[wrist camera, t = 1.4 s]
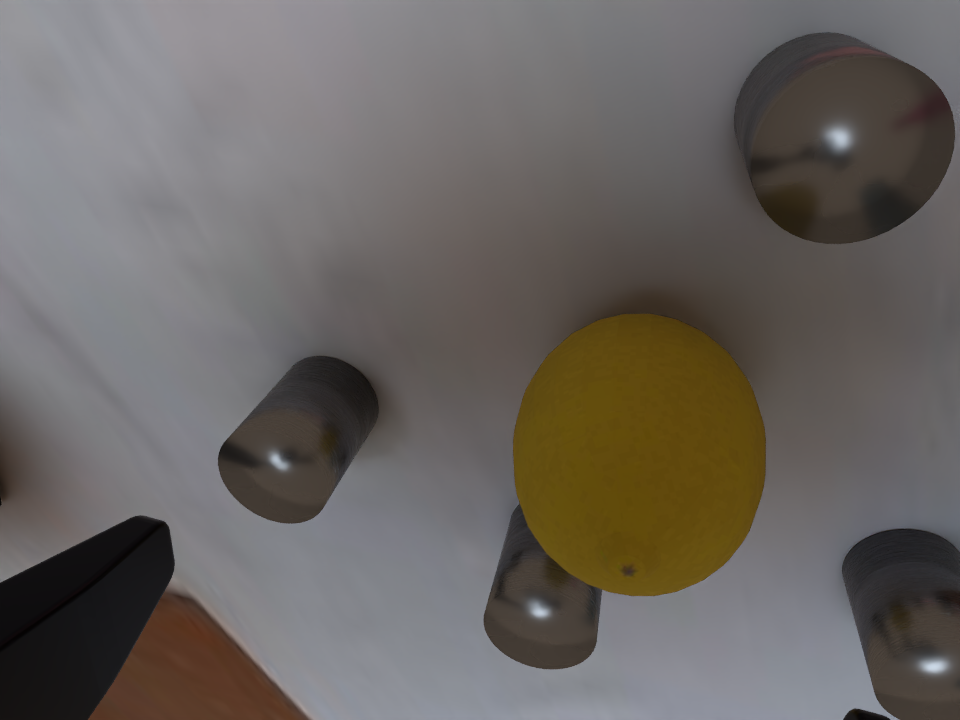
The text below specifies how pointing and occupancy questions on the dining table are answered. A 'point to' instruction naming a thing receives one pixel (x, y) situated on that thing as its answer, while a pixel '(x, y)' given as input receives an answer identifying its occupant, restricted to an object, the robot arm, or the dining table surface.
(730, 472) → the lemon
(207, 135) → the dining table surface
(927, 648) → the spacers
